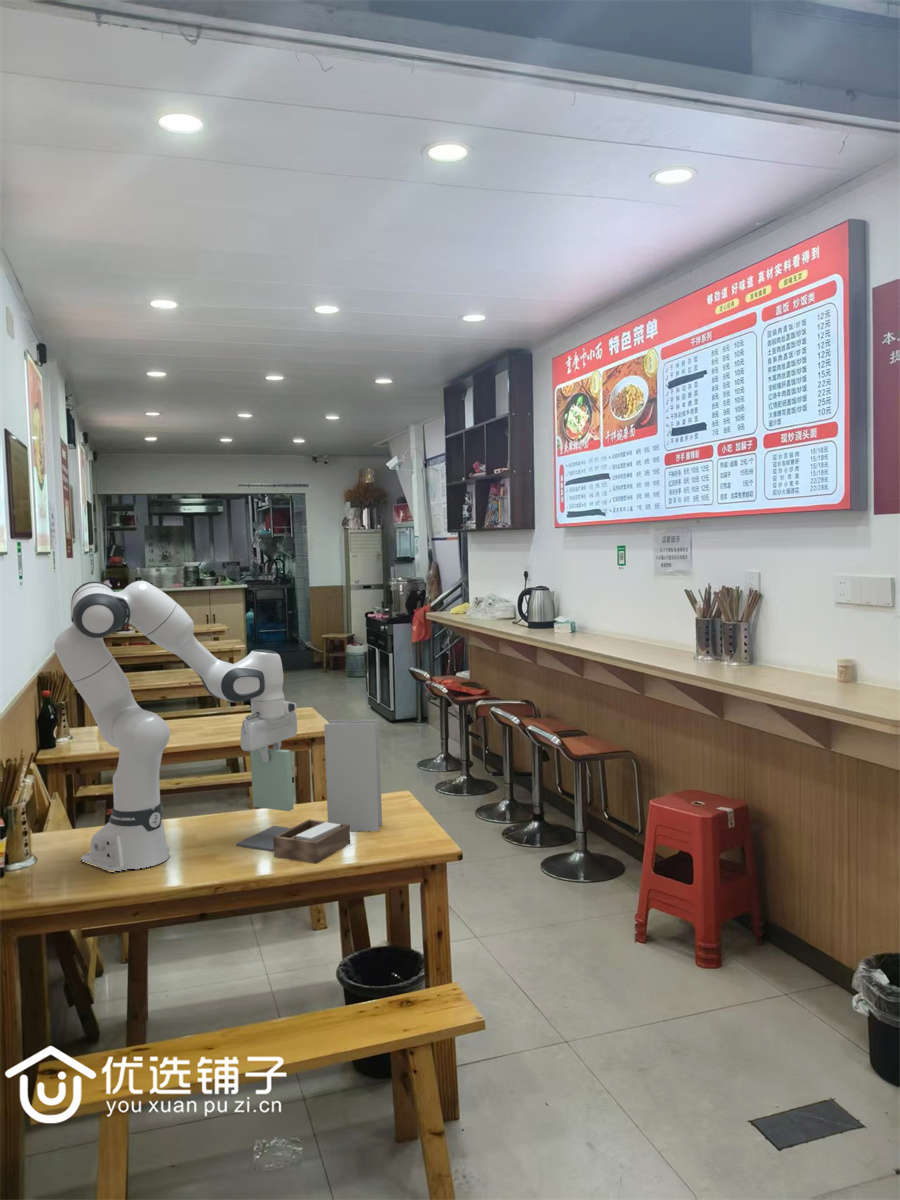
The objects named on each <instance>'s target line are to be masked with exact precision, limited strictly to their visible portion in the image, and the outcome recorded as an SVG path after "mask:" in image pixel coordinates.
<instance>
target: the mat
mask: <svg viewBox="0 0 900 1200" xmlns="http://www.w3.org/2000/svg"><path fill="white" fill-rule="evenodd" d="M291 828H292V827H286V826H280V825H279V826H278V825H272V826H271V827H268V828H266V829H264V830H262V831H259V832H258V833H256V834H254V835H252V836H249V837H247V838H245V839H243V840H241V841H238V842H237V843H236V847H240V848H241V847H242V848H246V849H247V848H249V849H254V850H261V851H267V852H273V853H274V842H273V837H275V836H277V835H279V834H281V833H283V832H285V831H287V830H289V829H291Z"/></svg>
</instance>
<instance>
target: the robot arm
mask: <svg viewBox="0 0 900 1200" xmlns="http://www.w3.org/2000/svg"><path fill="white" fill-rule="evenodd" d="M71 596H72V597H71V600H70V601H71V602H70V613H71V616H70V617H71V620H70V621H71V622H72V624H71V626H69V627H68V628H67V629H65V630H63V631H62V632H61V633H60V634H59V635H58V636H57V637H56V639H55V641H54V645H53V647H54V651H55V654H56V656H57V658H58V661H59V662H60V665H61V667H62V669H63V670H64V673H65V674H66V675H67V677H68V679H69V680H70V682H71V683H72V684H73V686H74V688H75V689H76V690H77V692H78V694H79V695H80V696H81V697H82V700H84V702H85V704H86V705H87V707H88V708H89V711H90V713H91V714H92V717H93V719H94V721H95V724H96V725H97V727H98V731H99V734H100V735H101V737H102V738H103V740H105V742H106V743H107V744H108V745H110V746H112V748H113V747H114V748H116V749H118V754H119V755H118V761H117V767H116V771H115V773H114V774H113V776H112V791H113V793H112V794H113V807H111V808H109V809H106V810H105V811H106V815H110V816H109V819H108V822H107V823H105V825H103V827H101V828H100V829H99V830H98V831H96V833H94V834H93V836H92V837H91V839H90V847H89V848H90V851H88V852H87V853H85V854H83V855H82V856H81V857H80V861H81V860H82V861H84V862H87V863H90V864H93V865H96V866H98V867H101V868H103V869H106V870H109V871H120V872H122V871H121V870H125V871H128V870H127V869H135V870H140V868H142V869H146V867H147V868H150V866H151V867H153V866H157V865H159V864H161V863H163V862H166V861H167V860H168V859H169V858H170V852H169V850H170V847H169V845H168V844H167V840H166V832H165V827H164V821H163V814H164V812H163V809H164V808H163V803H162V801H161V790H160V789H161V788H160V787H161V786H160V771H161V770H160V769H161V762H162V757H163V753H164V749H165V748H166V747H167V745H168V743H169V742H170V741H169V740H170V738H171V730H170V727H169V724H168V723H167V722H166V720H164V719H163V717H161V716H160V715H159V714H157V713H156V712H153V711H149V710H146V709H143V708H142V707H141V706H140V705H139V704H138V703H137V702H136V700H135V697H134V694H133V693H132V689H131V688H130V687H131V686H130V685H131V683H130V679H128V677H127V676H126V674H125V672H124V671H123V669H122V668H121V667H120V665H119V663H118V662H117V660H116V659H115V657H114V656H113V654H112V652H110V650H109V649H108V647H107V645H106V643H105V640H104V638H105V637H108V636H110V635H111V634H113V633H115V632H116V631H118V630H121V629H122V628H124V627H126V626H127V625H129V624H130V625H131V626H133V627H134V628H136V629H137V630H138V631H139V632H140V633H142V635H144V636H145V637H146V638H148V639H149V640H150V641H151V642H153V643H154V644H156V645H157V646H159V647H161V648H162V649H164V650H166V651H168V652H170V653H172V654H174V655H175V656H177V657H179V659H180V660H182V661H183V662H184V663H185V664H186V665H187V666H188V667H189V668H191V669H192V670H193V672H195V673H196V674H197V675H198V677H199V679H200V681H201V683H202V685H203V687H204V689H205V691H206V692H207V693H208V694H209V695H210V696H212V697H213V698H216V699H221V700H225V701H228V702H230V703H241V702H246V701H249V700H250V709H251V711H250V712H251V714H248V715H246V716H245V718H244V719H243V721H242V723H241V729H240V748H241V750H242V751H244V752H250V751H254V750H257V749H259V751H260V753H261V755H262V761H263V762H269V761H271V755H269V754H268V752H267V750H268V748H269V746H271V745H272V749H281V747H282V741H284V740H288V739H290V738H293V737H296V735H297V733H298V717H297V712H296V711H297V709H298V708H297V703H296V702H293V701H292V702H290V701H287V700H286V699H285V694H284V692H283V686H284V685H283V684H284V671H283V670H284V669H283V663H282V658H281V656H280V654H279V653H278V652H276V651H274V650H268V649H267V650H266V649H253V650H251V651H250V652H249V654H248V655H246V656H245V657H244V658H242V659H240V660H238V661H237V662H234V663H231V662H229V661H226V660H223V659H219V658H217V657H216V656H214V655H213V654H212V653H211V652H210V651H209V650H208V649H207V648H206V647H205V646H204V644H202V643H201V642H200V641H199V640H198V639H197V638H196V636H195V634H194V632H195V624H194V620H193V619H192V617H191V616H190V615H189V614H188V612H187V611H185V609H184V608H183V607H182V606H181V605H179V603H178V602H177V601H175V600H174V599H173V597H171V596H169V595H168V594H166V593H165V592H164V591H163V590H161V589H159V587H156V586H155V585H153V584H152V583H150V582H148V581H145V580H137V581H133V582H131V583H130V584H128V585H127V586H126V587H125V588H124V589H122V590H120V591H119V590H118V591H115V590H114V589H113V588H112V587H111V586H110V585H108V584H106V583H104V582H102V581H101V582H100V581H87V582H85V583H83V584H81V585H80V586H79V587H77V588H76V589H75V590H74V592H73V594H72V595H71Z"/></svg>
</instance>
